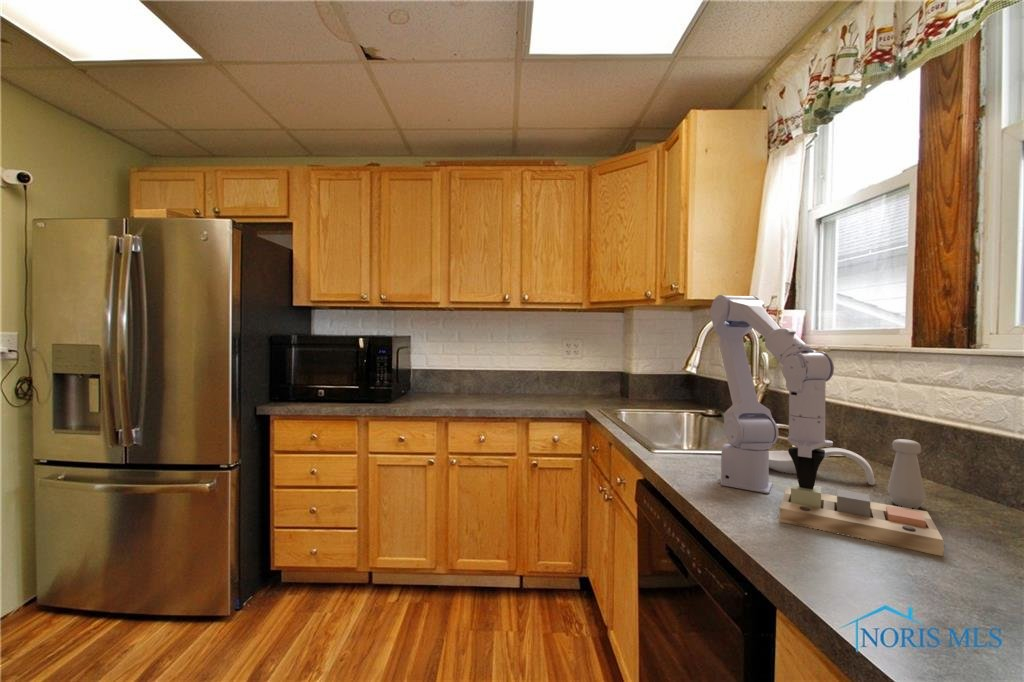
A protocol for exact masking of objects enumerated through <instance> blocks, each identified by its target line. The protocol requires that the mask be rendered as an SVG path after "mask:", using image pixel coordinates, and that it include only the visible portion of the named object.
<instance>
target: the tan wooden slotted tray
mask: <svg viewBox="0 0 1024 682" xmlns="http://www.w3.org/2000/svg"><path fill="white" fill-rule="evenodd" d="M781 499H782V500H781V503H780V506H779V522H780V523H785V524H789V525H794V526H798V525H799V527H803V526H805V527H804V528H807V527H809V528H808V529H812V528H814V529H813V530H817V529H819V530H818V531H821V530H823V531H822V532H826V531H828V532H827V533H831V532H833V533H832V534H836V533H839V534H838V535H840V534H844V535H843V536H845V535H849V536H848V537H850V536H853V537H852V538H854V537H858V538H857V539H859V538H861V539H860V540H864V539H866V540H865V541H869V540H870V542H873V541H874V543H878V542H879V544H883V545H889V546H894V547H898V548H902V549H907V550H912V551H917V552H922V553H926V554H931V555H935V556H939V557H944V539H943V537H942V535H941V533H940V531H939V530H938V528H937V526H936V525H935V522H934V521H933V519H932V517H931V515H930V513H929V512H928V511H927V510H921V509H912V508H905V507H901V506H897V505H891V504H885V503H880V502H873V501H870V517H865V516H859V515H854V514H849V513H843V512H838V511H837V495H831V494H827V493H822V492H821V508H817V507H811V506H806V505H801V504H795V503H791V487H788V486H787V487H785V490H784V494H783V497H782V498H781ZM886 506H888V507H894V508H900V509H906V510H912V511H917V512H921V513H922V515H923V517H924V519H925V521H926V528H923V527H918V526H913V525H907V524H902V523H897V522H891V521H886Z"/></svg>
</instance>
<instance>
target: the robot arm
mask: <svg viewBox="0 0 1024 682" xmlns="http://www.w3.org/2000/svg"><path fill="white" fill-rule="evenodd" d="M765 307H766V306H765V302H764V301H763V300H762V299H761V298H760V297H759V296H757V295H724V294H718V295H717V296H715V298H714V299H713V301H712V303H711V307H710V310H709V313H710V318H711V322H712V323H711V324H712V327H713V332H714V333H716V334H717V335H716V336H717V341H718V346H719V349H720V353H721V358H722V363H723V366H724V371H725V376H726V379H727V380H726V381H727V385H728V389H729V390H728V391H729V394H730V398H731V399H730V400H731V402H732V405H731V406H730V407H729V408H728V409H726V410H725V412H723V433H724V436H725V439H726V440H727V442H728V443H723V445H722V448H721V453H720V454H721V455H720V456H721V458H720V461H721V462H720V464H721V465H720V486H723V487H724V486H725V487H729V488H735V489H740V490H741V489H742V490H746V491H751V492H756V493H757V492H758V493H763V494H769V492H770V491H771V488H772V486H773V482H771V481H769V478H770V477H769V475H770V474H769V473H770V468H769V451H770V449H773V445H774V444H775V443H777V441H778V438H779V427H778V424H777V423H776V421H775V420H774V418H773V416H772V412H771V410H770V409H769V408H768V407H766V406H765V405H763V404H762V403H760V401H759V399H758V396H757V392H756V387H755V383H754V380H753V376H752V375H753V374H752V371H751V366H750V364H749V359H748V355H747V350H746V346H745V343H744V336H745V335H747V334H749V333H751V331H752V329H754V330H755V331H756V332H757V333H758V334H760V335H761V336H762V337H763V338H764V339H765V340H764V347H765V348H766V349H767V350H768V352H770V354H771V355H772V356H773V357H774V358H775V359H776V360H777V361H778V362H779V363H780V365H781V373H782V376H783V377H784V379H785V388H786V390H787V391H788V436H787V442H788V443H789V444H791V445H792V446H791V447H789V448H788V450H787V451H788V452H789V455H790V456H791V458H792V460H793V463H794V465H795V469H796V476H797V477H796V479H797V483H799V486H800V488H806V489H813V488H814V486H815V483H816V478H817V474H818V469H819V467H820V466H821V465H820V464H821V463H822V461H823V460H824V459H825V458H826V457H825V450H822V449H823V448H824V447H833V445H834V442H833V441H832V440H828V439H826V382H827V383H828V381H830V380H831V379H832V378H833V375H834V373H835V372H834V370H835V367H834V362H833V359H832V358H831V357H830V355H829V354H828V353H827V352H824V351H816V350H815V349H812V348H811V345H809V344H808V343H806V342H804V341H803V340H802V339H801V338H800V337H799V336H798V335H797V334H796V333H797V331H796V330H794V329H793V328H788V327H780V326H779V325H778V324H777V322H776V321H775V320H774V319H773V318H772V317H771V315H770V314H769V313H768V312H767V310H766V309H765ZM824 457H825V458H824Z"/></svg>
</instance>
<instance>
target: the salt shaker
mask: <svg viewBox="0 0 1024 682" xmlns="http://www.w3.org/2000/svg"><path fill="white" fill-rule="evenodd" d="M891 444H892V450H893V451H895V455H894V459H893V464H892V469H891V472H890V477H889V481H888V486H887V488H886V489H887V493H888V495H889V497H890V499H891V501H892V503H893V504H894V506H897V505H898V507H901V506H902V507H904V508H910V509H912V508H914V509H915V510H919V509H920V507H921V506H922V505H923V503H925V501H926V499H927V494H926V491H925V487H924V483H923V478H922V473H921V468H920V465H919V460H918V454H921V452H922V446H921V444H920V442H917V441H915V440H911V439H906V438H905V439H904V438H898V439H894V440H893V441H892V443H891Z"/></svg>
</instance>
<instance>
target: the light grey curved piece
mask: <svg viewBox="0 0 1024 682" xmlns="http://www.w3.org/2000/svg"><path fill="white" fill-rule="evenodd" d="M821 449H822V450H825V457H824V458H823V459H826V458H828V457H830V456H831V457H832V456H843V457H847V458H849V459H852V460H853V461H855V462H857V463H858V464H859V465H860V466H861V468H863V471H864V472H865V476H866V480H867V483H868V485H870V486H874V485H875V483H876V481H875V476H874V471H873V469H872V466H871V465H870V464H869V462H868V460H867V459H865V458H864V457H863V456H861V455H860V454H857V453H856V452H854V451H851V450H848V449H845V448H841V447H840V448H839V447H826V448H824V447H823V448H821ZM769 469H772V470H774V471H777V472H781V473H784V472H785V474H792V473H793V475H794V474H796V469H795V465H794V463H793V460H792V458H791V456H790V455H789V452H788V450H769ZM796 475H797V474H796Z"/></svg>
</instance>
